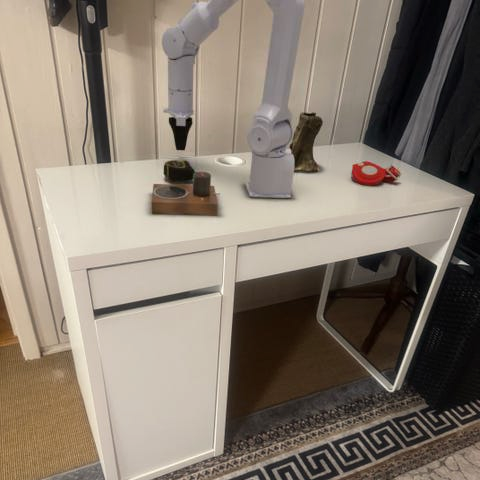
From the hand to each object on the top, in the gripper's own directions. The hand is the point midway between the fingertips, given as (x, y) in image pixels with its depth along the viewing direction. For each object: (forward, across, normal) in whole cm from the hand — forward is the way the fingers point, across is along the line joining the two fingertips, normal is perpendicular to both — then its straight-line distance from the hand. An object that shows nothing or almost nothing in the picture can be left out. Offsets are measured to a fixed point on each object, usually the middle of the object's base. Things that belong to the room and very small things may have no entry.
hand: (180, 149), depth 115 cm
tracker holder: (+4, +6, +49) cm, 50 cm away
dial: (+2, +25, +4) cm, 25 cm away
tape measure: (+4, +10, 0) cm, 10 cm away
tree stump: (+4, -3, +32) cm, 32 cm away
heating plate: (+2, +25, -2) cm, 25 cm away
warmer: (+4, +25, 0) cm, 25 cm away
